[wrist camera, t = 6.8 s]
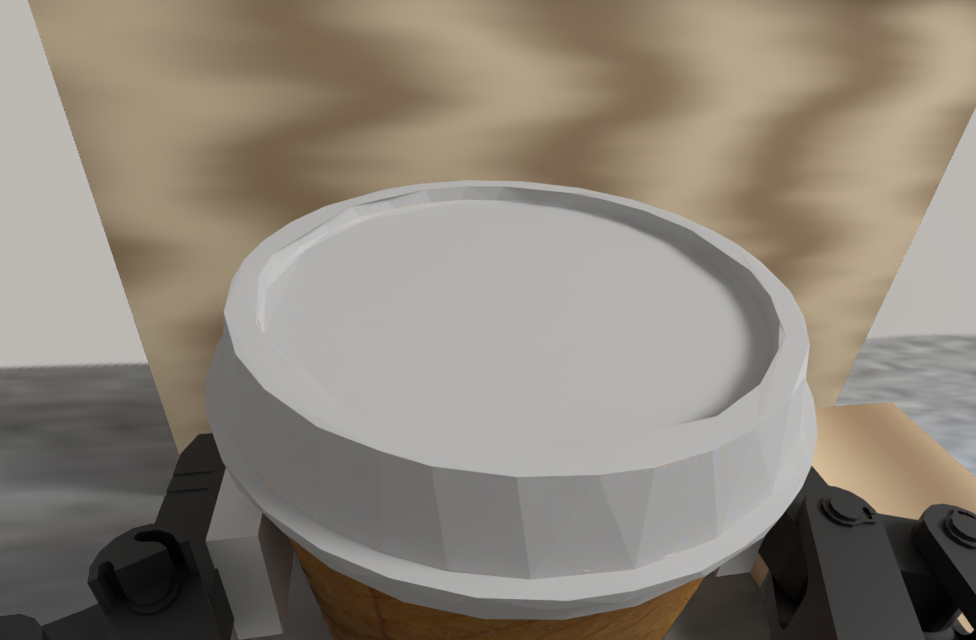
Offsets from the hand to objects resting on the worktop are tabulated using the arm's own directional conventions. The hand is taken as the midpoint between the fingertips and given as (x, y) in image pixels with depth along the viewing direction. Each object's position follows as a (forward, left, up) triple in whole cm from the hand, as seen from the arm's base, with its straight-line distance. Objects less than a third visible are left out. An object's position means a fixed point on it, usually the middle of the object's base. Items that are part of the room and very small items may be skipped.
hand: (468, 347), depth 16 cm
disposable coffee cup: (+2, -4, -7) cm, 9 cm away
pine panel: (+1, +4, -7) cm, 8 cm away
